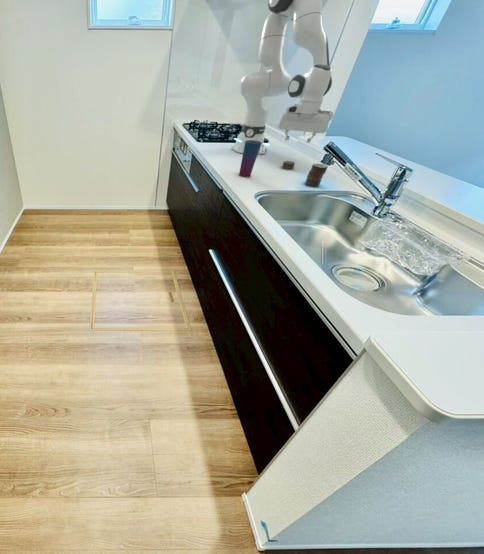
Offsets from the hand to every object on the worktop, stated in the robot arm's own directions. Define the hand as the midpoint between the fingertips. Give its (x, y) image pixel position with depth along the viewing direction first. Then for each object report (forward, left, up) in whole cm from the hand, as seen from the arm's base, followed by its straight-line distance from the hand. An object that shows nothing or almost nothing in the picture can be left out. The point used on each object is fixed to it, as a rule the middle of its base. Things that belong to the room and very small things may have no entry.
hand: (297, 141), depth 143 cm
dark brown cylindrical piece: (+20, +14, -13) cm, 27 cm away
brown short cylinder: (0, 0, -13) cm, 13 cm away
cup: (+25, -14, -13) cm, 31 cm away
